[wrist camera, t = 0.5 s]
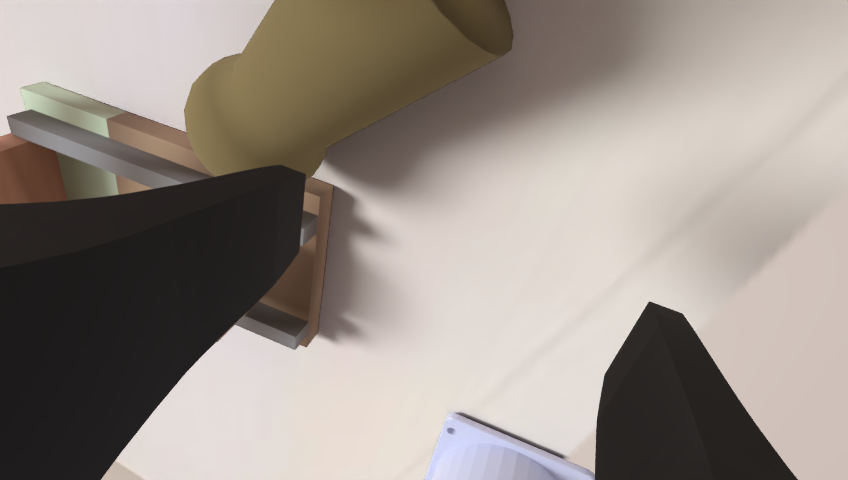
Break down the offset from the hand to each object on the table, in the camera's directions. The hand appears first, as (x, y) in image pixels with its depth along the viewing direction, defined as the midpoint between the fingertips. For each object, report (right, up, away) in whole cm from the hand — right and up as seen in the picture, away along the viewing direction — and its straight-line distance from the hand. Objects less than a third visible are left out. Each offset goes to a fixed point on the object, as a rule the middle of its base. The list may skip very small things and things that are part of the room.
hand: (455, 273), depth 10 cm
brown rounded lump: (0, +8, +3) cm, 9 cm away
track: (-13, +2, +16) cm, 21 cm away
